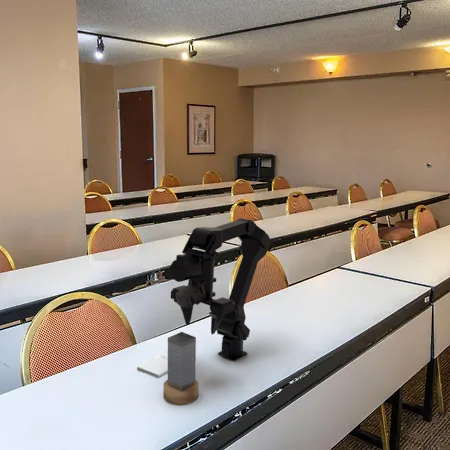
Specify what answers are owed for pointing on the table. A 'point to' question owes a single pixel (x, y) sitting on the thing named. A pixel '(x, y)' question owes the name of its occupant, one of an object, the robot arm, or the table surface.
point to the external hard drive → (156, 366)
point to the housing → (181, 361)
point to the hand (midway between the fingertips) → (200, 329)
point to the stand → (180, 394)
